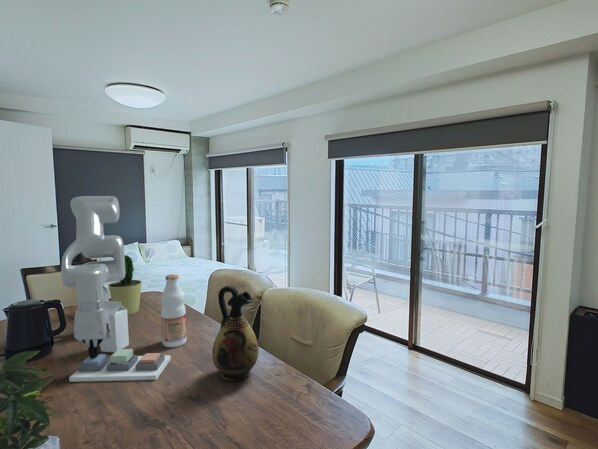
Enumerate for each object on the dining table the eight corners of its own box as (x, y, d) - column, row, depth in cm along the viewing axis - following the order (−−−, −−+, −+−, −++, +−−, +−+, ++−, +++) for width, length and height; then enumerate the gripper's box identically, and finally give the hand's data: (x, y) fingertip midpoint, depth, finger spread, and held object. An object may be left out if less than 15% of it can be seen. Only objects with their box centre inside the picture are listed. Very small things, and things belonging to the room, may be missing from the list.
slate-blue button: (91, 361, 122) (91, 354, 122) (106, 360, 122) (105, 354, 122) (83, 368, 117) (82, 361, 117) (98, 368, 117) (98, 361, 117)
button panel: (93, 360, 127) (92, 351, 127) (170, 359, 128) (170, 350, 128) (69, 381, 113) (68, 371, 113) (156, 379, 114) (155, 369, 114)
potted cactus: (114, 307, 185) (111, 252, 182) (145, 305, 188) (142, 250, 186) (105, 317, 170) (102, 257, 167) (139, 315, 174) (136, 256, 171)
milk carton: (116, 353, 133) (113, 305, 131) (100, 351, 134) (97, 303, 132) (129, 345, 140) (126, 299, 138) (113, 343, 141) (111, 298, 139)
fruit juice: (157, 345, 139) (154, 277, 137) (174, 336, 148) (171, 272, 145) (174, 349, 135) (171, 279, 133) (191, 340, 144) (189, 274, 141)
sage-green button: (118, 356, 122) (118, 349, 122) (133, 355, 123) (132, 348, 122) (111, 363, 117) (111, 355, 117) (126, 362, 118) (126, 355, 117)
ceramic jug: (266, 366, 122) (265, 283, 119) (245, 390, 108) (243, 296, 105) (224, 359, 128) (222, 279, 125) (199, 380, 113) (196, 291, 110)
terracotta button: (146, 360, 123) (145, 353, 123) (160, 359, 123) (160, 353, 123) (140, 367, 118) (139, 360, 118) (155, 366, 118) (154, 359, 118)
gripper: (61, 309, 114) (65, 362, 116) (107, 308, 114) (111, 361, 116) (75, 301, 121) (79, 351, 123) (118, 301, 122) (121, 350, 124)
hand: (94, 356), depth 120 cm, fingers closed
